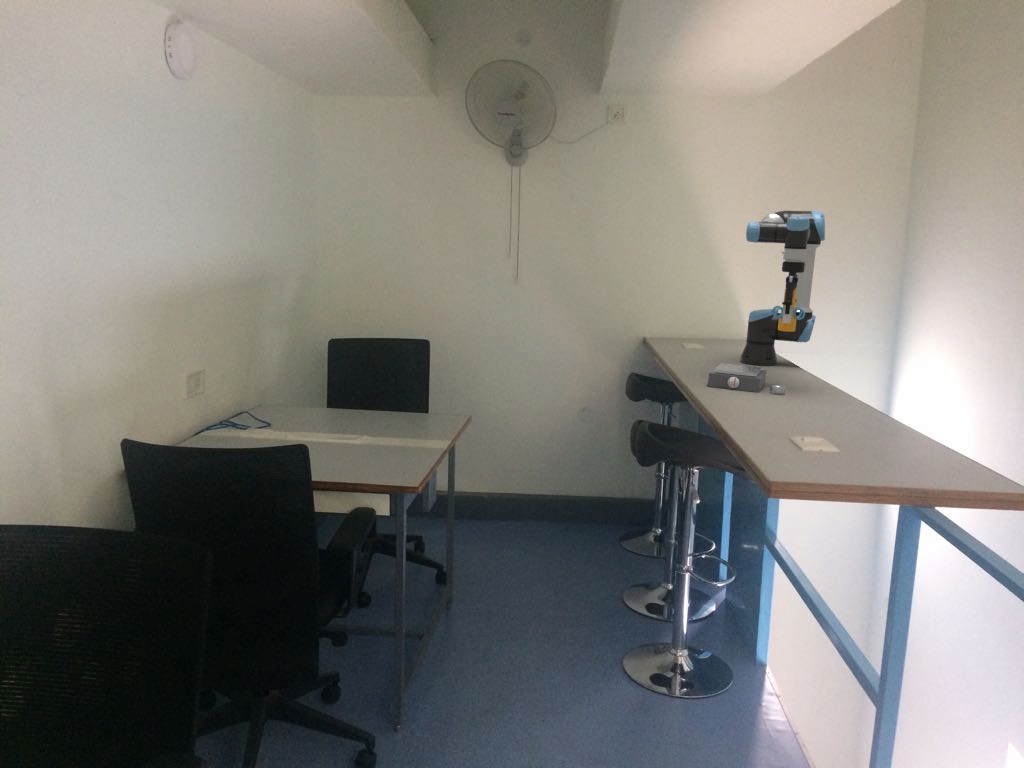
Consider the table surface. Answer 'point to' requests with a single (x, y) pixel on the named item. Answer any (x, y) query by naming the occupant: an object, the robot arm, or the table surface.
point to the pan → (738, 369)
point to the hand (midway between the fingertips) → (787, 321)
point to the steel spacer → (777, 389)
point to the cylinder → (792, 324)
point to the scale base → (737, 381)
